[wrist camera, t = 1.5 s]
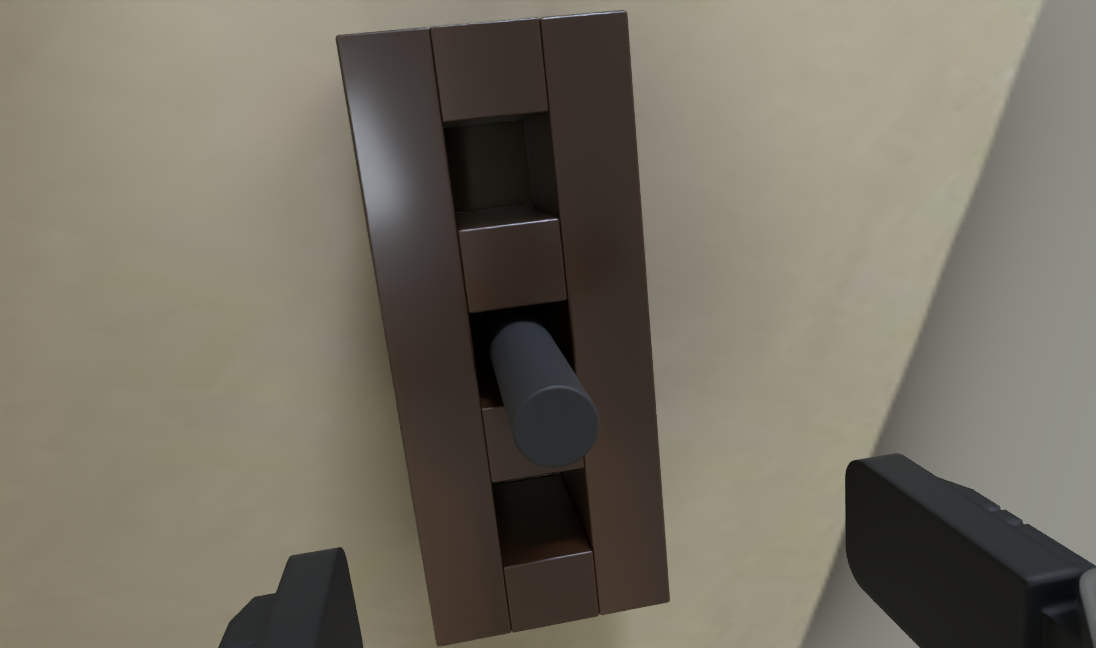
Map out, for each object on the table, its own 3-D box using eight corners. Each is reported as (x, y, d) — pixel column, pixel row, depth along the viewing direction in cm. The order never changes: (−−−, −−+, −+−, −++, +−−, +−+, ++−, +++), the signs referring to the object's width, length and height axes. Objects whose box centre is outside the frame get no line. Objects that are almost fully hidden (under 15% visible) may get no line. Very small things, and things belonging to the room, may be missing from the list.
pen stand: (435, 551, 30) (436, 648, 24) (356, 61, 25) (334, 34, 19) (626, 517, 31) (670, 603, 25) (584, 40, 26) (627, 8, 20)
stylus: (475, 290, 28) (507, 393, 16) (528, 284, 28) (596, 379, 16) (482, 341, 28) (518, 476, 16) (533, 334, 28) (604, 461, 17)
